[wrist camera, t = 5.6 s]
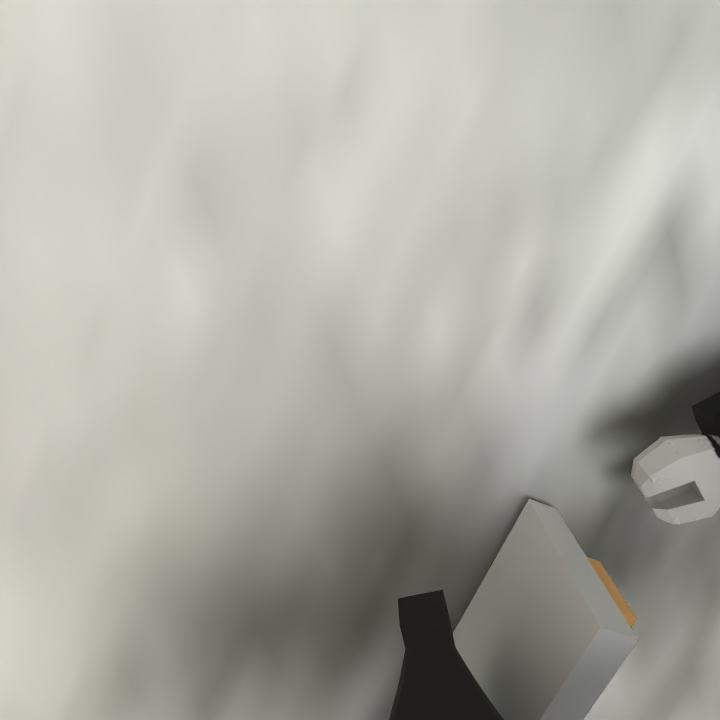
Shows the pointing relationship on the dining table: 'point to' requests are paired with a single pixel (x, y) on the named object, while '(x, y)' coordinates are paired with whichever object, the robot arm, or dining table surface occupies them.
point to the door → (544, 623)
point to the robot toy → (683, 470)
